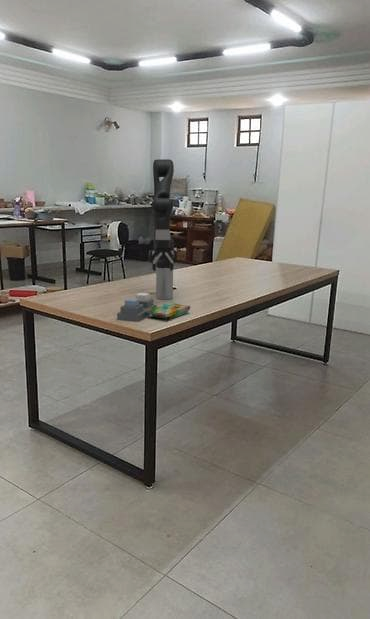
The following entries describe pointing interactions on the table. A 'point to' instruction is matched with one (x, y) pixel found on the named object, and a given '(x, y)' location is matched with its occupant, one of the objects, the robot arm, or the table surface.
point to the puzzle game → (168, 310)
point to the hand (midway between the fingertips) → (162, 270)
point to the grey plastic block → (136, 311)
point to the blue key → (131, 302)
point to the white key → (143, 296)
